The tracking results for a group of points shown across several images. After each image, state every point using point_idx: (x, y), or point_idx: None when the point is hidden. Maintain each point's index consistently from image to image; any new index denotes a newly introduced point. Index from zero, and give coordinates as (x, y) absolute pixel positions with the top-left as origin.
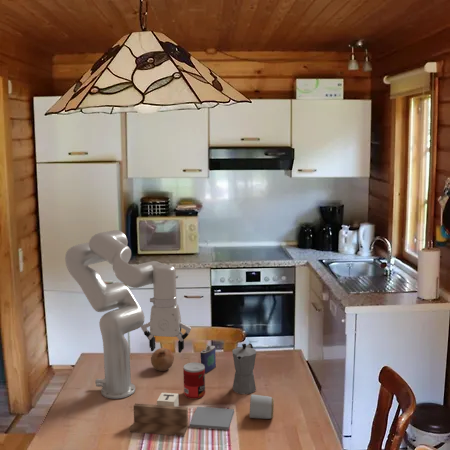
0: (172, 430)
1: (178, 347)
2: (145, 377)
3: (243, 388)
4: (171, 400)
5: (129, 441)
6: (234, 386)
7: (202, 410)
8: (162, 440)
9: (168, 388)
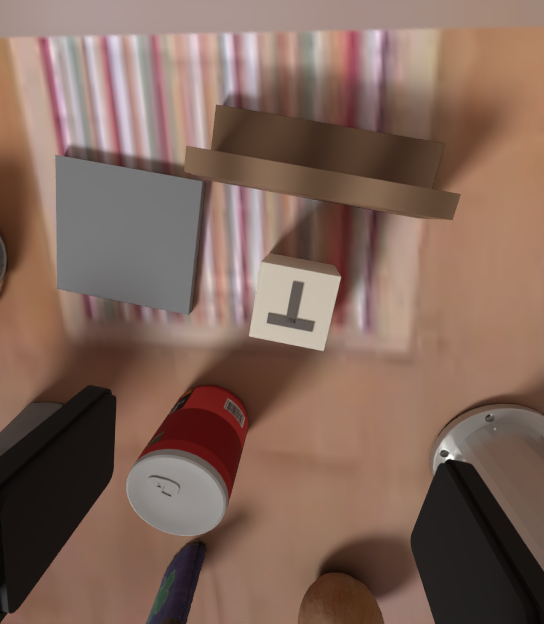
0: (264, 123)
1: (72, 430)
2: (395, 540)
3: (38, 415)
4: (273, 274)
5: (439, 64)
6: None
7: (166, 285)
8: (301, 74)
9: (308, 461)
